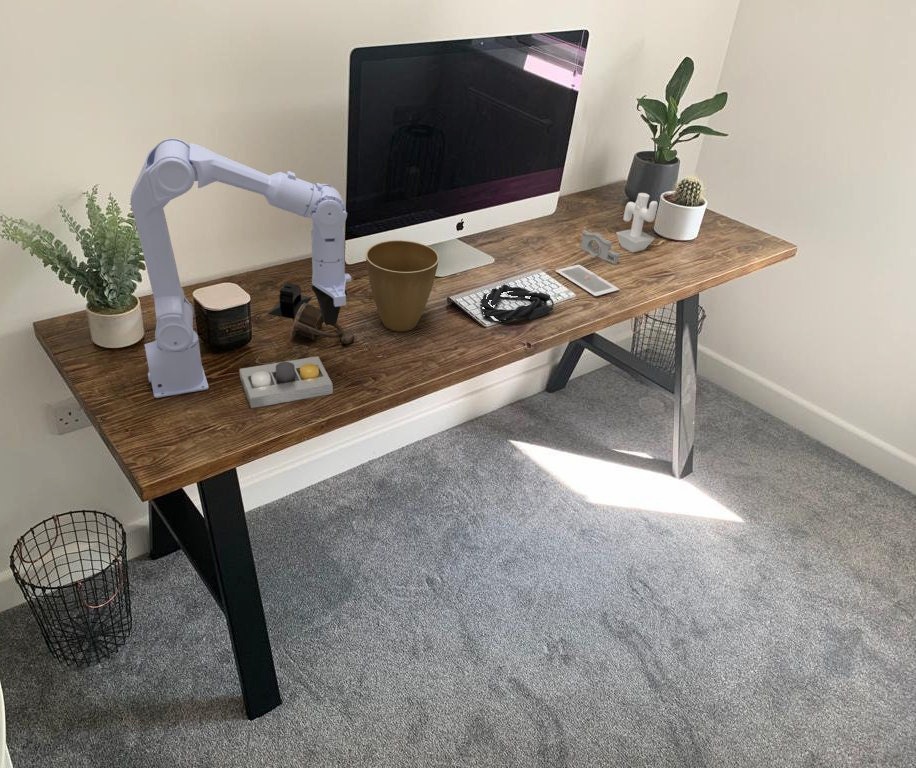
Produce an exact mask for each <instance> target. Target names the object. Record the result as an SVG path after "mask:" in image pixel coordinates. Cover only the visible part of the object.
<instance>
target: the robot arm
mask: <svg viewBox="0 0 916 768" xmlns="http://www.w3.org/2000/svg"><path fill="white" fill-rule="evenodd" d="M195 182H197V188H198V189H202V188H204V187H206V186H208V185H210V184H213V183H215V182H218V183H221V184H224V185H225V184H226V185H228V186H231V187H235V188H239V189H242V190H246V191H249V192H252V193H255V194H259V195H262V196H263V197H264V198H265V199H266V201H267V204H269V206H271V207H275V208H277V209H281V210H283V211H286V212H289V213H291V214H295V215H297V216H301V217H303V218H308V219H310V218H311V221H312V222H311V227H312V229H311V231H310V234H311V235H310V237H311V263H312V264H311V265H312V267H311V268H312V276H311V284H312V286H311V290H312V291H313V293H314V295H315V297H316V300H317V302H318V305H319V309H320V310H321V314H322V318H323V321H324V322H323V324H324V325H325V326H328V325H329V326H332V325H331V324H336V323H337V322H338V319H339V314H340V311H341V308H342V307H343V306H347V296H348V293H347V291H346V285H347V282H348V283H349V282H351V281H352V276H351V275H350V274H349V273H346V271H345V270H346V262H345V261H346V260H345V259H346V257H345V254H346V253H345V230H344V227H345V222H346V220H347V218H348V212H347V210H346V206H345V203H344V201H343V198H342V196H341V194H340V192H339V191H338V189H336V188H335V187H333V186H331V185H330V184H328V183H319V182H316V183H315V184H314V183H311V182H310V181H306V180H304V179H301V178H298V177H297V176H296V173H295V172H292V171H290V170H287V171H286V173H285V172H283V171H278V172H275V173H273V174H266V173H264V172H262V171H259V170H257V169H255V168H253V167H250V166H248V165H245V164H242V163H241V162H237V161H235V160H232V159H230V158H229V157H226V156H223V155H221V154H218V153H217V152H214V151H212V150H210V149H208V148H206V147H203V146H202V145H200V144H196V143H192V142H189V144H188V143H187V142H186V141H185V140H183V139H180V138H176V137H168V138H165V139H162V140H161V141H159V142H158V143H157V144H156V145H155V146H154V147H153V148H152V149H151V150H150V151H148V153H147V155H146V158H145V161H144V164H143V166H142V168H141V170H140V172H139V175H138V177H137V179H136V180H135V184H134V185H133V187H132V190H131V194H130V205H131V210H132V211H131V212H132V213H133V214H132V215H133V217H134V222H135V226H136V231H137V236H138V239H139V242H140V247H141V250H142V254H143V259H144V263H145V267H146V272H147V274H148V279H149V283H150V287H151V291H152V295H153V299H154V301H153V302H154V311H155V319H156V327H155V331H154V339H155V340H153V341H151V342H148V343H144V349H145V356H146V362H147V365H148V366H147V367H148V368H147V369H148V372H147V378H148V382H149V383H151V388H152V392H153V397H154V399H155V398H156V399H159V398H164V397H169V396H177V395H181V394H182V395H183V394H188V393H193V392H200V391H205V390H206V391H207V390H209V388H210V387H209V384H208V380H207V377H206V374H205V370H204V367H203V365H202V357H201V349H200V341H199V335H198V333H197V332H196V331H195V330H194V329H193V325H194V324H193V322H194V321H193V320H194V319H193V318H194V315H195V314H194V313H195V312H194V311H195V310H194V307H193V305H192V303H191V302H189V300H188V299H187V298H186V295H185V292H184V291H185V290H184V289H183V288H182V285H181V282H180V277H179V272H178V267H177V264H176V262H177V261H176V259H175V254H174V249H173V246H172V240H171V236H170V233H169V227H168V226H169V225H168V223H167V218H166V214H165V209H164V208H165V207H166V206H167V205H168V203H170V202H171V201H172V200H174V199H176V198H178V197H180V196H182V195H184V194H186V193H187V192H189V191H190V190H191V189H192V188H193V186H194V185H195Z"/></svg>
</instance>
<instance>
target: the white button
mask: <svg viewBox="0 0 916 768" xmlns="http://www.w3.org/2000/svg"><path fill="white" fill-rule="evenodd" d="M251 379H252V386H251V387H252V389H253V388H259V387H265V386H270V385H272V384H271V377H270V374H269V373H268V372H264V371H260V372H256V373H254V374H253V375H252V376H251Z"/></svg>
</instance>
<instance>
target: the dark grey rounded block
mask: <svg viewBox="0 0 916 768" xmlns="http://www.w3.org/2000/svg"><path fill="white" fill-rule="evenodd" d="M278 363H279V362H278ZM276 380H277V381H276V383H277V384H282V383H288V382H294V381H296V380H295V367H294V364H292V363H290V362H286V361H281V363H279V364H277V365H276Z"/></svg>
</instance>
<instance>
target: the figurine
mask: <svg viewBox="0 0 916 768" xmlns="http://www.w3.org/2000/svg"><path fill="white" fill-rule="evenodd" d="M649 199H650V195H649V194H648V193H646V192H638V194H637V197H636V200H635V202H633V201H628V202H627V203H626V204H625V208H624V213H623V221H624V222H630V221H632V223H631V228H630V229H626V230H625V229H624V230H621V231H617V232H615V234H616V236H617V237H616V238H617V239H618V241H619V245H620V247H621V248H623V249H625V250H627V251H628V252H631V254H632V253H637V252H641V251H645V250H646V249H647V247H648V246H649V245H651V243H652V242H653V241H654V240H655V239H656V237H654V236H652V235H650V234H648V233H647V232H644V231H643V227H644V222H645V221H646V222H648V223H651V222H653V221H654V220H655V218H656V214H657V210H658V206H659V205H658V201H657V200H652V201H651V202H649ZM648 203H649V205H648Z"/></svg>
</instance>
